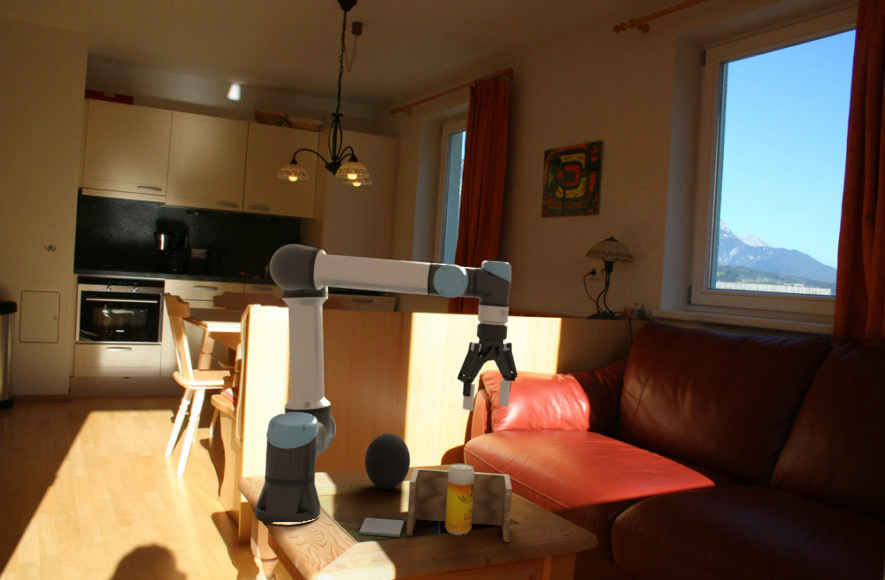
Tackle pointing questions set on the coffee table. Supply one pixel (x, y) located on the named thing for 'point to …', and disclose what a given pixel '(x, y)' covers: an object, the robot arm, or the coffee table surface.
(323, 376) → the robot arm
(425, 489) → the wooden monitor riser
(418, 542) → the coffee table surface
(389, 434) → the decorative egg
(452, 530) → the beer can
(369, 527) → the slate coaster
